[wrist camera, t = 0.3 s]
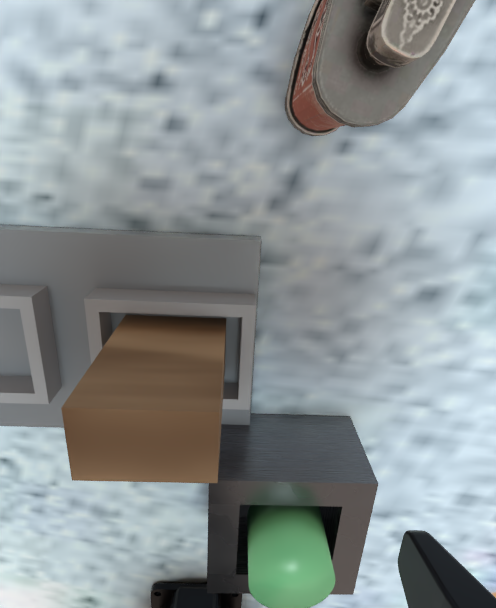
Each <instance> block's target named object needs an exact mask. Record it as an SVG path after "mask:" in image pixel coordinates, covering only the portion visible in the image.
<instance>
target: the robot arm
mask: <svg viewBox="0 0 496 608" xmlns="http://www.w3.org/2000/svg"><path fill="white" fill-rule="evenodd" d="M398 568H399V573H400V577H401V581H402V585H403V588H404V592H405V596H406V600H407V604H408V608H496V598H495V597H494V596H493V595H492V594H491V593H490V592H489V591H488V590H487V589H486V588H485V587H484V586H483V585H482V584H481V583H480V582H479V581H478V580H477V579H476V578H475V577H474V576H473V575H472V574H471V573H469V572H468V571H467V570H466V569H465V568H464V567H463V566H462V565H461V564H460V563H459V562H458V561H457V560H456V559H455V558H454V557H453V556H452V555H451V554H450V553H449V552H448V551H447V550H446V549H445V548H444V547H443V546H442V545H441V544H440V543H439V542H438V541H436V540H435V539H434V538H433V537H432V536H431V535H430V534H429V533H427V532H426V531H418V530H409V531H406V532H405V534H404V536H403V540H402V544H401V548H400V553H399V557H398ZM241 602H242V593H207V584H162V583H158V584H154V585H153V586H152V590H151V607H152V608H241Z"/></svg>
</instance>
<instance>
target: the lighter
mask: <svg viewBox="0 0 496 608" xmlns="http://www.w3.org/2000/svg"><path fill="white" fill-rule="evenodd" d="M474 2H475V0H316V1H315V3H314V5H313V7H312V9H311V12H310V14H309V16H308V19H307V22H306V25H305V28H304V31H303V34H302V37H301V40H300V43H299V46H298V49H297V52H296V55H295V58H294V62H293V67H292V71H291V76H290V80H289V85H288V89H287V94H286V98H285V111H286V114H287V117H288V120H289V121H290V122H291V124H292V125H293V126H294V128H296V129H297V130H299V131H300V132H302V133H304V134H307V135H311V136H320V135H326V134H329V133H331V132H333V131H335V130H337V129H338V128H339V127H340V126H344V125H348V126H351V127H366V126H373V125H378V124H380V123H382V122H385V121H387V120H389V119H392V118H393V117H394V116H395V115H396V114H397V113H398V112H400V111H401V110H402V109H403V108H404V107H405V105H406V104H407V103H408V101H409V100H410V99H411V97H412V96H413V94H414V93H415V92H416V90H417V89H418V88H419V86H420V85H421V83H422V82H423V81H424V79H425V78H426V77H427V75H428V74H429V73H430V71H431V70H432V68H433V67H434V66H435V64H436V63H437V62H438V60H439V59H440V57H441V56H442V55H443V53H444V52H445V51H446V49H447V47H448V45H449V44H450V42H451V40H452V39H453V37H454V35H455V34H456V32H457V30H458V29H459V27H460V25H461V23H462V22H463V20H464V18H465V17H466V15H467V13H468V12H469V10H470V8H471V7H472V5H473V3H474Z"/></svg>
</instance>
